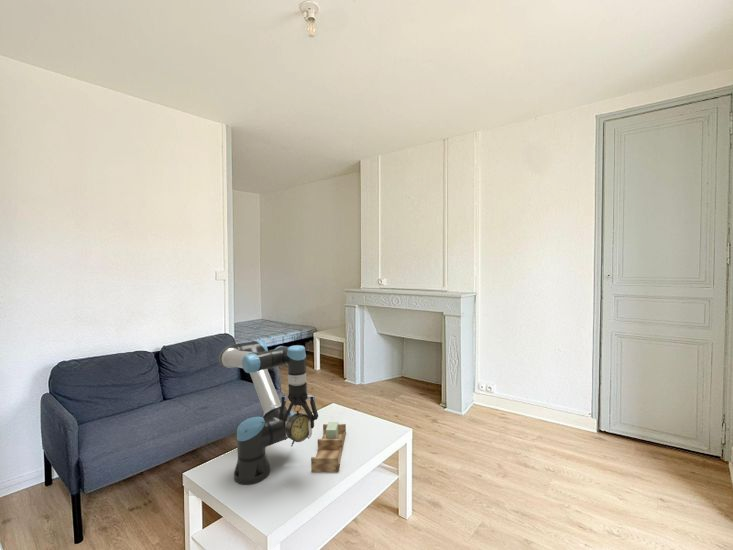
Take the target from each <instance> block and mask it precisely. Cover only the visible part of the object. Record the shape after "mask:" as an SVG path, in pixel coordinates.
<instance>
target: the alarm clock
mask: <svg viewBox="0 0 733 550" xmlns="http://www.w3.org/2000/svg"><path fill="white" fill-rule="evenodd" d="M297 406H298V405H296V406H294V408H293V409H294V412H295V413H294V415H292V416H291V417H290V418H289V420H288V422H287V424H286V434H287V436H288V437H289V438H288V439H289V440H292V443H291V446H290V447H293V445H294V443H301V442H304V441H305V440H306V439H310V437H309V420H310V419H309V417H308V415H307V414H305V413H302V412H300V411H301V409H302V405H301V406H299V409H298V410H296V407H297Z"/></svg>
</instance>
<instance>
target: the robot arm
mask: <svg viewBox="0 0 733 550" xmlns="http://www.w3.org/2000/svg"><path fill="white" fill-rule="evenodd" d="M218 360H219V363H220V364H221V366H222V367H224V368H227V369H233V368H240V369H243V371H244V372H245V373H247V374H249V375H250V377H251V380H252V382H253V383H252V384H253V386H254V389H255V391H256V394H257V396H258V400H259V401H260V405H261V408H262V410H263V415H262V416H253V417H248V418H246V419H245V420H243V421H242V422H241V423H240V424H239V425H238V427H237V429H236V440H237V441H236V444H237V446H236V447H237V462H236V464H235V469H234V471H233V479H234V481H235V483H237V482H238V484H241V485H253V484H257V483H259V482H261V481H263V480H265V479H266V478H267V477H268V476H269V475H270V474H271V473H270V472H271V464H270V462H269V460H268V456H267V454H266V448H267V447H269V446H271V445H274V444H275V445H276V444H277V443H280V442H282V441H286V440H287V439H290V438H289V437H288V436H287V434H286V424H287V422H288V420H289V418H290V417H291V416H292V415H294V414H295V413H294V411H293V410H292V409H293V407H295V406H296V405H297V406H299V407H300V406H301V408H303V410H304V411H305V413H306V414H305V415H308V417H309V419H310V420H309V436H308V437H309V438H311V437H312V435H313V429H314V427H315V421H316V420H318V418H319V414H318V409H317V406H316V402H315V395H314V394H312V395H309V394H308V391H307V390H308V388H307V386H308V384H307V354H306V348H305V346H304V345H299V344H298V345H295V344H294V345H291V346H284V345H279V346H277V347H275V348H274V349H270V350H269V349H268V347H267V345H266V343H265V342H264V341H262V340H259V339H258V340H252V341H246V342H240V343H239V342H238V343H233V344H230V345H227V346H226V347H224V348H223V349H222V350H221V351H220V354H219V357H218ZM282 366H285V367H287V374H288V375H287V378H288V379H287V381H288V394H287V395H285V394H283V395H282V396H281V400H280V397H279V395H278V393H277V390H276V388H275V386H274V385H275V384H274V383H273V380H272V377H271V375H270V373H269V369H273V368H277V367H278V368H279V367H282ZM307 399H308V401H309V403H310V406H309V405H308V403H307ZM288 400H289V402H290V404H289V405H288V408H287V406H286V404H287V401H288ZM297 406H296V407H297ZM310 407H311V408H310Z"/></svg>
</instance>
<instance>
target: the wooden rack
mask: <svg viewBox="0 0 733 550" xmlns="http://www.w3.org/2000/svg"><path fill="white" fill-rule="evenodd" d="M327 425H328V423H323V424H322V432H323V434H322V438H317V451H316V455H315V456H311V459H310V465H311V469H310V470H311V473H339V472H340V466H341V459H342V453H343V450H344V444H345V441H346V434H347V429H346V427H347V426H346V425H347V424H346V423H338V439H326V428H327Z"/></svg>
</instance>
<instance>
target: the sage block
mask: <svg viewBox="0 0 733 550" xmlns="http://www.w3.org/2000/svg"><path fill="white" fill-rule="evenodd" d="M327 424H328V425H327V428H326V439H338V424H339V421H328V423H327Z"/></svg>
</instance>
